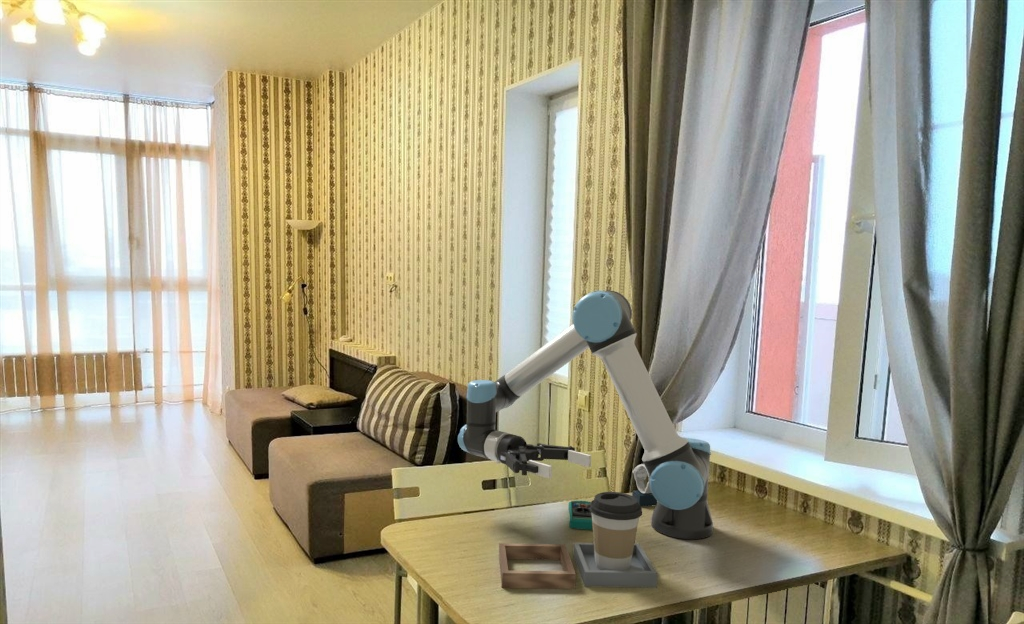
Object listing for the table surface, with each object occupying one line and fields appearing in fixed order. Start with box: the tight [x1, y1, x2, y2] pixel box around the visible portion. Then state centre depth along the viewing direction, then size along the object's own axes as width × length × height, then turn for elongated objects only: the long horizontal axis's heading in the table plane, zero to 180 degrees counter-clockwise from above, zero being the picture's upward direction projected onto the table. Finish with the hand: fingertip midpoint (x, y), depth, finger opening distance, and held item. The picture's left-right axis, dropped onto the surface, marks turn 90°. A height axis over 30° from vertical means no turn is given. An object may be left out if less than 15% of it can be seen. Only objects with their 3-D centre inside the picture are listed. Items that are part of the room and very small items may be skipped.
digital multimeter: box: [568, 500, 593, 531], centre depth 178 cm, size 7×15×3 cm, turn 176°
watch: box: [631, 463, 658, 507], centre depth 191 cm, size 6×8×11 cm
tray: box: [572, 542, 658, 588], centre depth 147 cm, size 15×15×3 cm
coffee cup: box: [589, 491, 643, 571], centre depth 147 cm, size 11×11×15 cm
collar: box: [498, 542, 577, 589], centre depth 145 cm, size 15×15×3 cm
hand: (571, 466), depth 155 cm, fingers open, 13 cm apart
